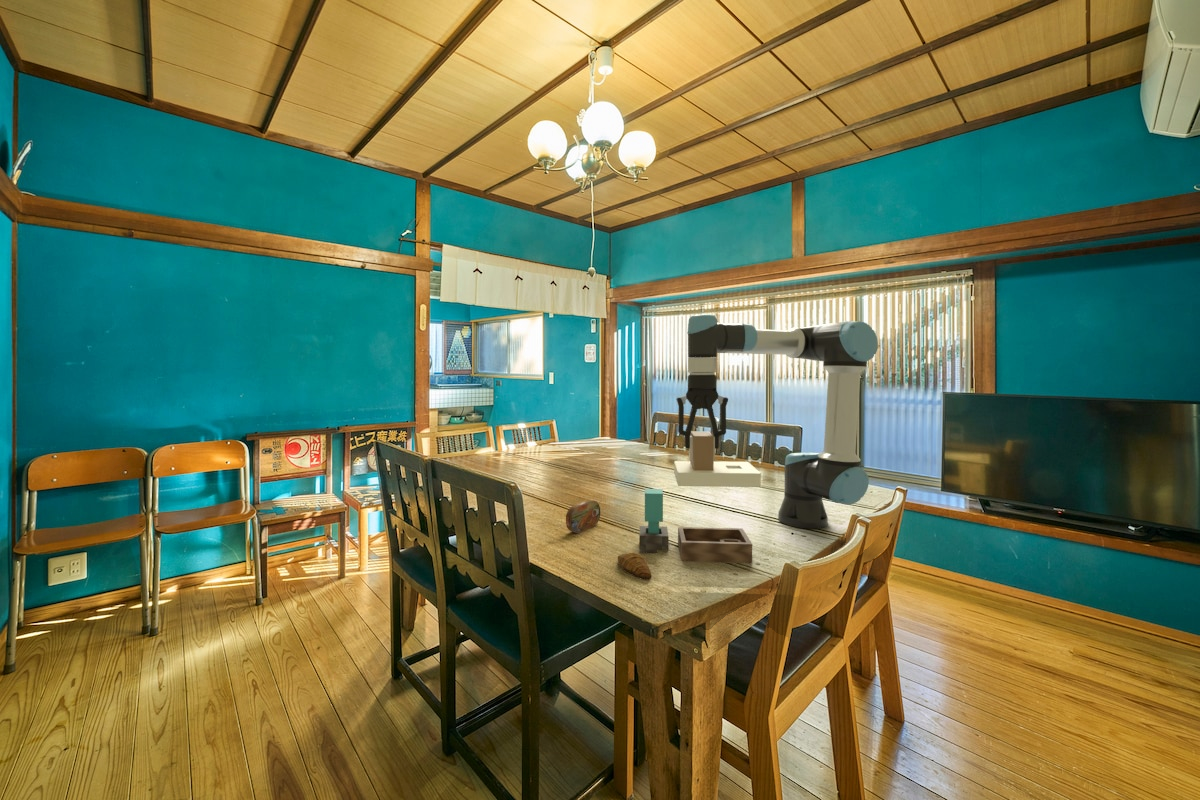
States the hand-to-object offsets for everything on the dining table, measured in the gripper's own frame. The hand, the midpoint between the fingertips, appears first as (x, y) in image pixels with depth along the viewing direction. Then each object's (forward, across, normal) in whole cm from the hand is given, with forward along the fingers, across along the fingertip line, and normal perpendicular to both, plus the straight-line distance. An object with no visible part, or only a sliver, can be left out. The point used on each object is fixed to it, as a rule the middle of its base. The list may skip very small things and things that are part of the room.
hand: (701, 460), depth 129 cm
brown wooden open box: (+27, -3, 0) cm, 27 cm away
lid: (+5, -4, 0) cm, 6 cm away
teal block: (+25, +13, -5) cm, 29 cm away
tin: (+27, +35, -20) cm, 48 cm away
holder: (+26, +13, -5) cm, 30 cm away
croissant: (+27, +18, +11) cm, 34 cm away
